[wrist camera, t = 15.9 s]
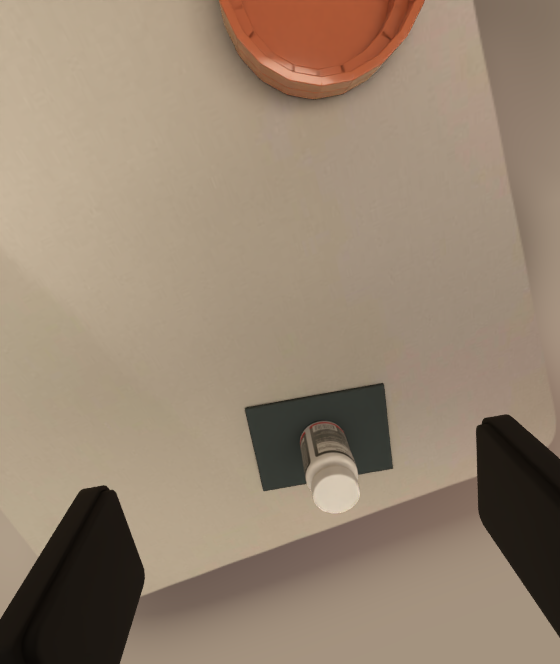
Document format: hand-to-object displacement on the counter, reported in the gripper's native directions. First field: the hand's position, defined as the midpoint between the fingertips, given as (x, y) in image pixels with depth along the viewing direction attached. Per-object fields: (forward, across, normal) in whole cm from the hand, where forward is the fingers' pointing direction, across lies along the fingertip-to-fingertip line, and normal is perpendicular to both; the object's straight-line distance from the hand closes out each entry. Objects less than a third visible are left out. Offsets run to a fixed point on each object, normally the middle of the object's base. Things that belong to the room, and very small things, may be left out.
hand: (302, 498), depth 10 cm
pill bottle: (+28, -2, +17) cm, 33 cm away
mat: (+28, -2, +17) cm, 33 cm away
